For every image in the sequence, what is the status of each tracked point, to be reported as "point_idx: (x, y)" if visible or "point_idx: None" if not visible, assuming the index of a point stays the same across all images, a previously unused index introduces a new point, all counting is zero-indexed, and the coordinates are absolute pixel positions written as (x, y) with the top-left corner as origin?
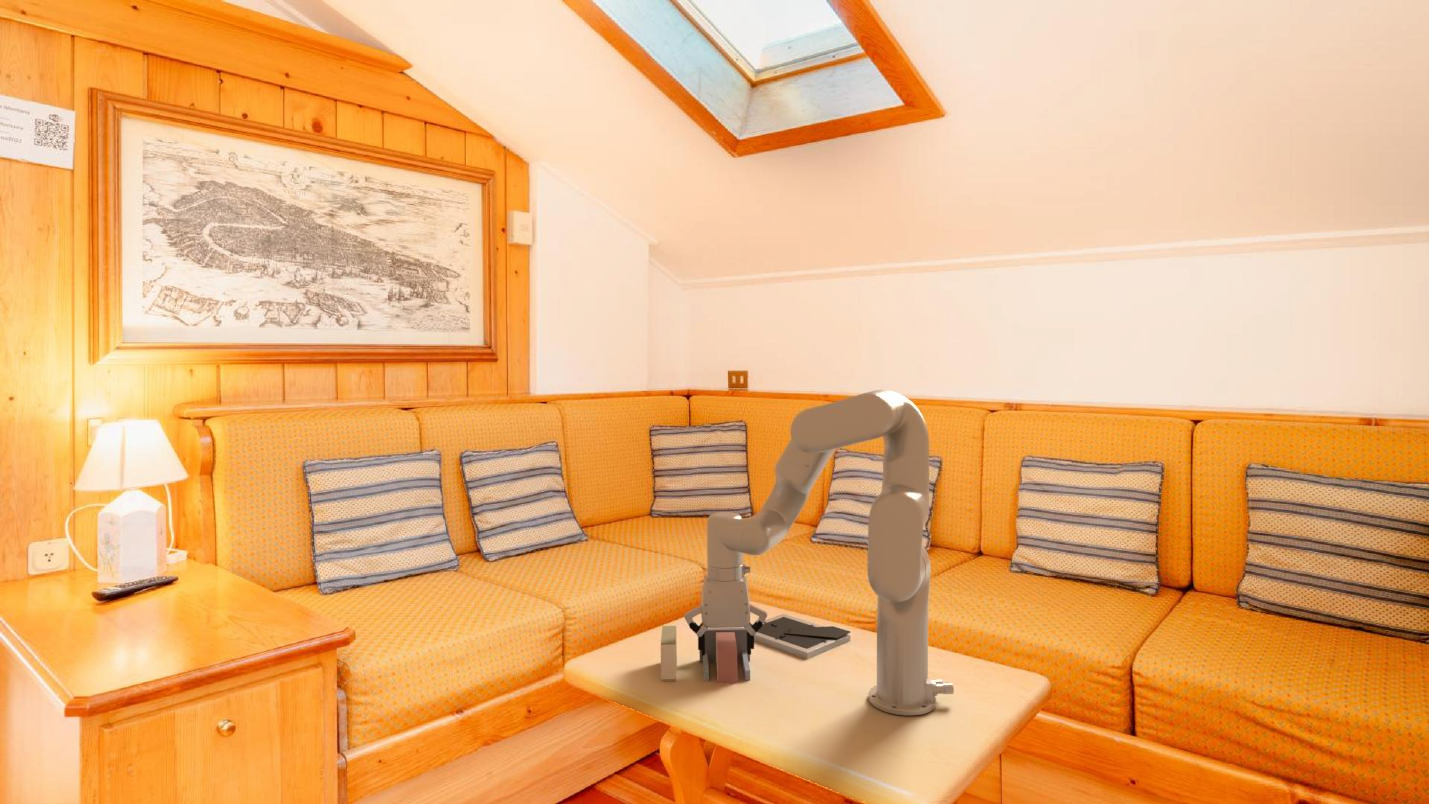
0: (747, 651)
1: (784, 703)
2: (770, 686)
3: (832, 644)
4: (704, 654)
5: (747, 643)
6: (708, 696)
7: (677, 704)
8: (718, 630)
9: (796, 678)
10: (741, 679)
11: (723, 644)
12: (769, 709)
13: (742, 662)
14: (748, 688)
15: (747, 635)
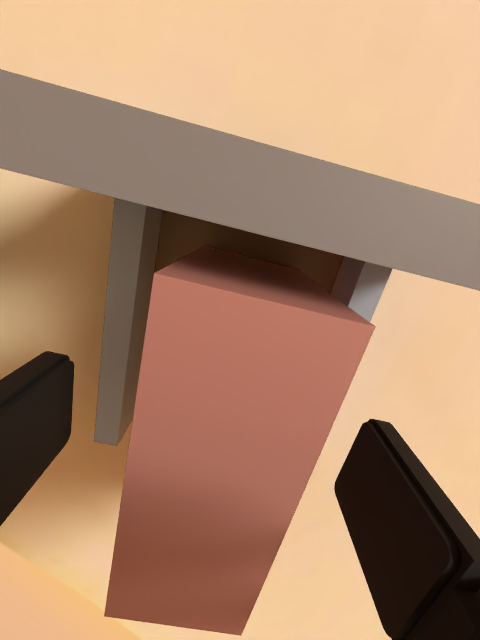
0: (342, 485)
1: (327, 588)
2: None
3: None
4: (64, 440)
5: (363, 551)
6: (116, 512)
7: (11, 532)
8: (198, 218)
9: (463, 473)
10: None
11: (166, 558)
12: (272, 602)
13: (335, 287)
14: None
15: (405, 623)
